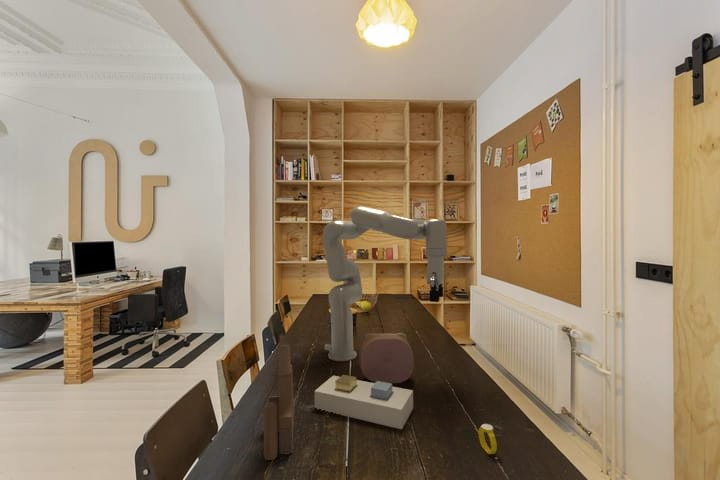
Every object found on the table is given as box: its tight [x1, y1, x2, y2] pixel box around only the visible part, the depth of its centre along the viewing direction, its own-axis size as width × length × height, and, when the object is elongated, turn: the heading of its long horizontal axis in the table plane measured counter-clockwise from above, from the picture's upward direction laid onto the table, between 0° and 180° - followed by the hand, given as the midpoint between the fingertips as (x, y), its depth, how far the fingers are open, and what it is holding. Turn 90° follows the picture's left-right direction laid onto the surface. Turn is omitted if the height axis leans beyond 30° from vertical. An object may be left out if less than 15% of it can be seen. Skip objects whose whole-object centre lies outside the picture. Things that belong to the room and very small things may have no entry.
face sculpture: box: [358, 332, 414, 384], centre depth 120 cm, size 20×7×17 cm, turn 92°
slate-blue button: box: [371, 381, 393, 400], centre depth 99 cm, size 5×5×3 cm
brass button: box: [335, 374, 358, 393], centre depth 104 cm, size 5×5×3 cm
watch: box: [478, 423, 498, 455], centre depth 81 cm, size 6×3×6 cm, turn 10°
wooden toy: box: [262, 344, 295, 461], centre depth 86 cm, size 16×7×25 cm, turn 10°
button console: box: [314, 375, 414, 430], centre depth 101 cm, size 28×12×6 cm, turn 66°
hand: (436, 299), depth 121 cm, fingers open, 9 cm apart
